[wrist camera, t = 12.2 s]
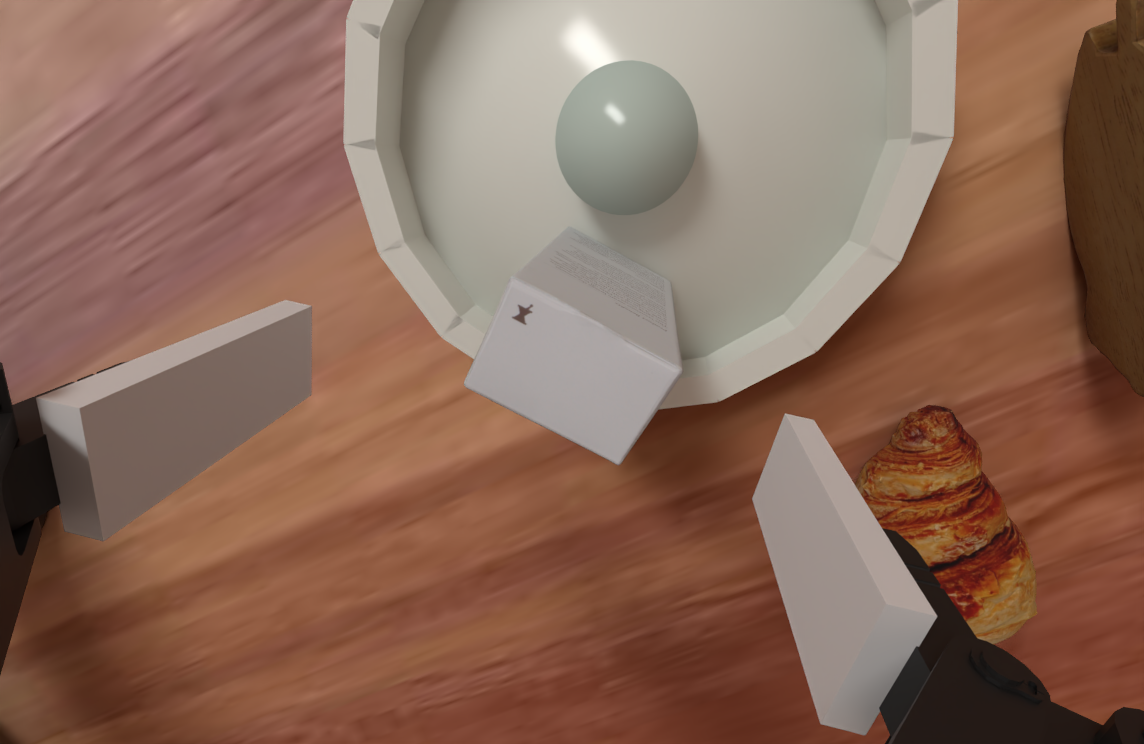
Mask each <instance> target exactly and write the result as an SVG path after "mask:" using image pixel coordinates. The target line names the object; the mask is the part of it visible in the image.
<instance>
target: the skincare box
mask: <svg viewBox="0 0 1144 744" xmlns="http://www.w3.org/2000/svg"><path fill="white" fill-rule="evenodd" d="M683 371H684V370H683V364H682V359H681V353H680V345H679V338H678V330H677V322H676V315H675V307H674V299H673V291H672V284H671V282H670V281H669V280H667V279H665V278H663V277H662V276H660V275H658V274H656V273H654V272H653V271H651V270H649V269H647V268H645V267H643V266H642V265H640V264H638V263H636V262H634V261H632V260H631V259H629V258H627V257H625V256H623V255H622V254H620V253H618V252H616V251H614V250H612V249H611V248H609V247H607V246H605V245H603V244H601V243H600V242H598V241H596V240H594V239H592V238H590V237H589V236H587V235H585V234H583V233H581V232H579V231H577V230H576V229H574V228H572V227H570V226H569V227H567V228H566V229H565V230H564V231H563V232H561V233H560V234H559V235H558V236H557V237H556V238H555V239H554V240H552V241H551V242H550V243H549V244H548V245H547V246H546V247H544V248H543V249H542V250H541V251H540V252H539V253H538V254H537V255H536V256H534V257H533V258H532V259H531V260H530V261H529V262H528V263H526V265H525V266H524V267H522V268H521V269H520V270H519V271H517V272H516V273H515V274H514V275H512V276H511V277H510V278H509V281H508V283H507V285H506V288H505V290H504V293H503V295H502V297H501V300H500V302H499V304H498V307H497V309H496V311H495V313H494V316H493V318H492V320H491V323H490V325H489V327H488V329H487V332H486V334H485V336H484V338H483V341H482V343H481V345H480V348H479V350H478V352H477V354H476V356H475V359H474V361H473V363H472V365H471V368H470V370H469V372H468V374H467V377H466V379H465V381H464V385H465V387H466V388H468V389H470V390H472V391H474V392H476V393H478V394H480V395H482V396H484V397H486V398H488V399H489V400H491V401H493V402H495V403H497V404H499V405H501V406H503V407H505V408H507V409H509V410H511V411H513V412H515V413H517V414H519V415H521V416H523V417H525V418H527V419H529V420H531V421H533V422H535V423H537V424H539V425H541V426H543V427H545V428H547V429H549V430H551V431H553V432H555V433H557V434H559V435H561V436H563V437H565V438H566V439H568V440H570V441H572V442H574V443H576V444H578V445H580V446H582V447H584V448H586V449H588V450H590V451H592V452H594V453H596V454H598V455H600V456H602V457H603V458H605V459H607V460H609V461H611V462H613V463H614V464H616V465H620V464H621V463H622V462H623V460H624V459H625V457H626V456H627V454H628V453H629V451H630V450H631V448H632V447H633V446H634V444H635V443H636V441H637V440H638V438H639V437H640V435H641V434H642V432H643V431H644V430H645V428H646V427H647V425H648V424H649V422H650V421H651V419H652V418H653V416H654V415H655V413H656V412H657V411H658V409H659V408H660V406H661V405H662V403H663V402H664V400H665V399H666V397H667V396H668V394H669V393H670V391H671V390H672V388H673V387H674V385H675V384H676V383H677V381H678V380H679V378H680V377H681V375H682V374H683Z"/></svg>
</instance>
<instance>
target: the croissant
mask: <svg viewBox="0 0 1144 744" xmlns="http://www.w3.org/2000/svg"><path fill="white" fill-rule="evenodd" d="M981 470H982V453H981V450H980V447H979V445H978V443H977V442H976V441H975V440H974V439H973V438H972V437H971V436H970V435H969V434H968V433H967V432H966V431H965V430H964V429H963V427H962V425H961V424H960V423H959V422H958V420H957V419H956V418H955V416H954V414H953V412H952V410H951V409H948V408H945V407H940V406H935V405H934V406H931V405H928V406H926V407H924V408H921V409H918V411H917V412H910V413H909V415H908V416H907V417H905V418H902V419H901V422H900V424H899V426H898V429H897V432H896V433H895V434H893V436H892V439H891V442H890V444H889V445H888V446H886V447H885V448H883V449H882V450H880V451H879V452H877V454H876V455H874V456H873V457H872V458H871V459H870V460H869V461H867V462H866V464H865V466H864V467H863V469H862V471H861V472H860V474H859V478H858V479H857V482H856V485H855V486H856V488H857V489H858V491H859V493H860V494H861V496H862V497H863V499H864V500H865V502H866V504H867V505H868V507H869V508H870V510H871V512H872V513H873V515H874V516H875V518H876V520H877V521H878V523H879V524H880V526H881V528H884V529H889V530H893V531H896V532H897V533H899V534H900V535H901V536H902V537H903V538H904V539H905V540H906V541H908V542H909V543H910V544H911V545H912V546H913V547H914V548H915V549H917V551H918V552H919V554H920V555H921V556H922V558H923V559H924V561H925V562H926V564H927V565H928V567H929V568H930V572H932V573H933V574H934V575H935V577H936V578H937V580H938V581H939V583H940V584H941V586H940V588H942V589H944V590H945V592H946V593H947V594H948V596H949V597H950V599H951V600H952V602H953V603H954V605H955V606H956V608H957V609H958V611H959V612H960V614H961V615H962V616H963V618H964V619H965V621H966V622H967V624H968V625H969V627H970V628H971V630H972V631H973V633H974V634H975V635H976V637H977V638H978V639H981V640H984V641H987V642H989V643H991V644H993V645H994V644H996V643H998V642H1001V641H1003V640H1005V639H1007V638H1010V637H1011V636H1012V635H1014V634H1015V633H1016V632H1017V631H1018V630H1019V629H1020V628H1021V627H1022V626H1023V625H1024V623H1025V622H1026V621H1027V620H1028V619H1030V618H1032V617H1033V616H1035V615H1036V614H1037V611H1036V608H1037V606H1036V603H1035V599H1036V575H1035V574H1036V571H1035V568H1034V565H1033V561H1032V557H1031V554H1030V551H1029V547H1028V544H1027V542H1026V540H1025V539H1024V537H1023V535H1022V534H1021V532H1020V531H1019V529H1018V527H1017V526H1016V525H1015V524H1014V523H1013V521H1012V520H1011V519H1010V518H1009V517H1008V515H1007V511H1006V507H1005V505H1004V503H1003V501H1002V499H1001V497H1000V495H999V493H998V492H997V491H996V489H995V488H994V486H993V485H992V484H991V482H990V481H989V480H988V478H987V477H986V476H985V475H984V473H983V472H982V471H981Z"/></svg>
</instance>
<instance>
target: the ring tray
mask: <svg viewBox="0 0 1144 744" xmlns="http://www.w3.org/2000/svg"><path fill="white" fill-rule="evenodd" d="M957 15H958V0H353V2H352V5H351V7H350V10H349V13H348V15H347V18H348V19H350V20H348V19H346V55H345V100H344V144H346V145H344V148H345V151H346V154H347V157H348V161H349V164H350V167H351V170H352V173H353V176H354V179H355V182H356V185H357V189H358V192H359V195H360V198H361V201H362V204H363V207H364V210H365V214H366V217H367V220H368V223H369V226H370V229H371V232H372V235H373V239H374V242H375V245H376V248H377V251H378V253H380V254H379V255H380V257H381V258H382V259H383V261H384V262H385V263H386V265H387V266H388V267H389V269H390V270H391V271H392V273H393V274H394V275H395V277H396V278H397V279H398V281H399V282H400V283H401V285H402V286H403V287H404V289H405V290H406V291H407V293H408V294H409V295H410V297H411V298H412V299H413V301H414V302H415V303H416V305H417V306H418V307H419V309H420V310H421V311H422V313H423V314H424V315H425V317H426V318H427V319H428V321H429V322H430V323H431V325H432V326H433V327H434V329H435V330H436V331H437V333H438V334H439V335H440V337H441V336H443V337H442V338H443V339H444V340H446V341H447V342H449V343H450V344H452V345H453V346H455V347H456V348H458V349H459V350H461V351H462V352H464V353H465V354H467V355H468V356H470V357H471V358H473V359H475V356H476V354H477V352H478V350H479V348H480V345H481V343H482V341H483V338H484V336H485V334H486V332H487V329H488V327H489V325H490V323H491V320H492V318H493V316H494V313H495V311H496V309H497V307H498V304H499V302H500V300H501V297H502V295H503V293H504V290H505V288H506V285H507V283H508V281H509V278H510V277H511V276H512V275H514V274H515V273H516V272H517V271H519V270H520V269H521V268H522V267H524V266H525V265H526V263H528V262H529V261H530V260H531V259H532V258H533V257H534V256H536V255H537V254H538V253H539V252H540V251H541V250H542V249H543V248H544V247H546V246H547V245H548V244H549V243H550V242H551V241H552V240H554V239H555V238H556V237H557V236H558V235H559V234H560V233H561V232H563V231H564V230H565V229H566V228H567V227H569V226H570V227H572V228H574V229H576V230H577V231H579V232H581V233H583V234H585V235H587V236H589V237H590V238H592V239H594V240H596V241H598V242H600V243H601V244H603V245H605V246H607V247H609V248H611V249H612V250H614V251H616V252H618V253H620V254H622V255H623V256H625V257H627V258H629V259H631V260H632V261H634V262H636V263H638V264H640V265H642V266H643V267H645V268H647V269H649V270H651V271H653V272H654V273H656V274H658V275H660V276H662V277H663V278H665V279H667V280H669V281H670V282H671V284H672V291H673V299H674V307H675V315H676V322H677V330H678V338H679V345H680V353H681V359H682V364H683V370H684V371H683V374H682V375H681V377H680V378H679V380H678V381H677V383H676V384H675V385H674V387H673V388H672V390H671V391H670V393H669V394H668V396H667V397H666V399H665V400H664V402H663V403H662V405H661V406H660V408H659V409H666V408H674V407H682V406H691V405H699V404H707V403H715V402H718V400H719V402H720V401H722V400H724V399H726V398H728V397H730V396H732V395H733V394H735V393H737V392H739V391H741V390H743V389H745V388H747V387H749V386H751V385H753V384H755V383H757V382H759V381H761V380H763V379H765V378H767V377H769V376H771V375H773V374H775V373H777V372H779V371H781V370H782V369H784V368H786V367H788V366H790V365H792V364H794V363H796V362H798V361H800V360H802V359H804V358H806V357H808V356H810V355H812V354H814V353H816V352H815V350H816V351H818V350H819V349H820V348H821V347H822V346H823V345H824V344H825V343H826V342H827V340H828V339H829V338H830V337H831V336H832V335H833V334H834V333H835V332H836V331H837V330H838V329H839V328H840V327H841V326H842V324H843V323H844V322H845V321H846V320H847V319H848V318H849V317H850V316H851V315H852V314H853V313H854V312H855V311H856V310H857V309H858V307H859V306H860V305H861V304H862V303H863V302H864V301H865V300H866V299H867V298H868V297H869V296H870V295H871V294H872V293H873V291H874V290H875V289H876V288H877V287H878V286H879V285H880V284H881V283H882V282H883V281H884V280H885V279H886V278H887V277H888V275H889V274H890V273H891V272H892V271H893V270H894V269H895V268H896V267H897V266H898V265H899V263H898V262H901V260H902V258H903V255H904V253H905V251H906V248H907V246H908V244H909V241H910V239H911V237H912V234H913V232H914V229H915V227H916V225H917V222H918V220H919V218H920V215H921V213H922V211H923V208H924V206H925V204H926V201H927V199H928V197H929V194H930V192H931V190H932V187H933V185H934V183H935V180H936V178H937V176H938V173H939V171H940V169H941V166H942V164H943V162H944V159H945V157H946V154H947V152H948V150H949V147H950V145H951V143H952V140H953V138H949V137H954V112H955V79H956V47H957ZM897 261H898V262H897Z"/></svg>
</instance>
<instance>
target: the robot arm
mask: <svg viewBox="0 0 1144 744" xmlns="http://www.w3.org/2000/svg"><path fill="white" fill-rule="evenodd" d="M311 373H312V306H309V305H305V304H301V303H296V302H292V301H287V300H284V301H282V302H279V303H277V304H274V305H272V306H269V307H266V308H264V309H261V310H259V311H256V312H254V313H251V314H249V315H246V316H243V317H241V318H238V319H236V320H233V321H231V322H228V323H226V324H223V325H221V326H218V327H215V328H213V329H210V330H208V331H205V332H203V333H200V334H198V335H195V336H192V337H190V338H187V339H185V340H182V341H180V342H177V343H175V344H172V345H170V346H167V347H164V348H162V349H159V350H157V351H154V352H152V353H149V354H147V355H144V356H141V357H139V358H136V359H134V360H131V361H128V362H123V363H119V364H117V365H114V366H112V367H109V368H107V369H104V370H101V371H99V372H97V374H96V375H94V374H91V375H89V376H86V377H83V378H81V379H78V380H77V382H71V383H68V384H65V385H63V386H60V387H58V388H55V389H53V390H50V391H47V392H45V393H42V394H40V395H37V396H35V397H32V398H29V399H27V400H24V401H22V402H19V403H17V404H14V405H12V403H11V399H10V395H9V390H8V386H7V382H6V378H5V373H4V369H3V365H2V363H1V362H0V674H1V671H2V667H3V664H4V660H5V657H6V654H7V650H8V647H9V643H10V640H11V636H12V633H13V630H14V626H15V623H16V619H17V616H18V613H19V609H20V606H21V602H22V599H23V595H24V592H25V589H26V585H27V582H28V578H29V575H30V572H31V568H32V565H33V561H34V558H35V554H36V551H37V548H38V544H39V541H40V537H41V528H42V527H43V524H44V522H45V518H46V513H47V511H49V510H50V509H52V508H54V507H55V506H57V505H59V508H60V512H61V517H62V522H63V526H64V531H65V532H69V533H73V534H77V535H81V536H85V537H89V538H92V539H96V540H100V541H105V540H106V539H107V538H109V537H110V536H112V535H113V534H115V533H116V532H117V531H119V530H120V529H122V528H123V527H125V526H126V525H127V524H129V523H130V522H132V521H133V520H134V519H136V518H137V517H139V516H140V515H142V514H143V513H144V512H146V511H147V510H149V509H150V508H152V507H153V506H154V505H156V504H157V503H159V502H160V501H161V500H163V499H164V498H166V497H167V496H169V495H170V494H171V493H173V492H174V491H176V490H177V489H179V488H180V487H181V486H183V485H184V484H186V483H187V482H188V481H190V480H191V479H193V478H194V477H196V476H197V475H198V474H200V473H201V472H203V471H204V470H206V469H207V468H208V467H210V466H211V465H213V464H214V463H215V462H217V461H218V460H220V459H221V458H223V457H224V456H225V455H227V454H228V453H230V452H231V451H233V450H234V449H235V448H237V447H238V446H240V445H241V444H242V443H244V442H245V441H247V440H248V439H250V438H251V437H252V436H254V435H255V434H257V433H258V432H260V431H261V430H262V429H264V428H265V427H267V426H268V425H269V424H271V423H272V422H274V421H275V420H277V419H278V418H279V417H281V416H282V415H284V414H285V413H287V412H288V411H289V410H291V409H292V408H294V407H295V406H296V405H298V404H299V403H301V402H302V401H304V400H305V399H306V398H308V397H309V396H311ZM752 500H753V503H754V507H755V510H756V513H757V516H758V520H759V523H760V526H761V530H762V533H763V536H764V539H765V543H766V546H767V549H768V553H769V556H770V559H771V563H772V566H773V569H774V572H775V576H776V579H777V582H778V586H779V589H780V592H781V596H782V599H783V602H784V605H785V609H786V612H787V615H788V619H789V622H790V625H791V629H792V632H793V635H794V638H795V642H796V645H797V648H798V652H799V655H800V658H801V662H802V665H803V668H804V671H805V675H806V678H807V681H808V685H809V688H810V691H811V695H812V698H813V701H814V704H815V708H816V711H817V714H818V718H819V721H820V724H822V725H826V726H830V727H834V728H838V729H842V730H846V731H850V732H854V733H858V734H862V735H866V734H867V732H868V730H869V729H870V727H871V725H872V724H873V722H874V720H875V719H876V717H877V715H878V714H879V712H880V711H881V714H882V716H883V719H884V721H885V723H886V726H887V728H888V730H889V733H890V736H889V738H888V740H887V741H886V743H885V744H1144V711H1142V710H1140V709H1133V708H1126V707H1123V708H1121V709H1119V710H1117V711H1115V712H1114V713H1113V714H1112V716H1111V717H1110V718H1109V719H1108V720H1107V722H1106V723H1105V724H1104V725H1101V724H1099V723H1096V722H1094V721H1092V720H1090V719H1088V718H1086V717H1084V716H1081V715H1079V714H1077V713H1075V712H1073V711H1071V710H1068V709H1066V708H1064V707H1062V706H1060V705H1058V704H1056V703H1053V702H1051V700H1050V695H1049V693H1048V692H1047V690H1046V689H1045V687H1044V685H1043V684H1042V682H1041V681H1040V680H1039V679H1038V678H1037V677H1036V676H1035V675H1034V674H1033V673H1032V672H1031V671H1030V670H1029V669H1028V668H1027V667H1026V666H1025V665H1024V664H1023V663H1022V662H1020V661H1019V660H1017V659H1016V658H1015V657H1013V656H1012V655H1011V654H1009V653H1008V652H1006V651H1005V650H1003V649H1001V648H999V647H997V646H995V645H993V644H991V643H989V642H987V641H984V640H981V639H978V638H977V637H976V635H975V634H974V633H973V631H972V630H971V628H970V627H969V625H968V624H967V622H966V621H965V619H964V618H963V616H962V615H961V614H960V612H959V611H958V609H957V608H956V606H955V605H954V603H953V602H952V600H951V599H950V597H949V596H948V594H947V593H946V592H945V590H944V589H942V588H940V586H941V584H940V583H939V581H938V580H937V578H936V577H935V575H934V574H933V573H932V572H930V568H929V567H928V565H927V564H926V562H925V561H924V559H923V558H922V556H921V555H920V554H919V552H918V551H917V549H915V548H914V547H913V546H912V545H911V544H910V543H909V542H908V541H906V540H905V539H904V538H903V537H902V536H901V535H900V534H899V533H897V532H896V531H893V530H889V529H884V528H881V526H880V524H879V523H878V521H877V520H876V518H875V516H874V515H873V513H872V512H871V510H870V508H869V507H868V505H867V504H866V502H865V500H864V499H863V497H862V496H861V494H860V493H859V491H858V489H857V488H856V486H855V485H854V483H853V481H852V480H851V478H850V477H849V475H848V473H847V472H846V470H845V469H844V467H843V466H842V464H841V462H840V461H839V459H838V458H837V456H836V454H835V453H834V451H833V450H832V448H831V446H830V445H829V443H828V442H827V440H826V439H825V437H824V435H823V434H822V432H821V431H820V429H819V427H818V426H817V424H816V423H815V421H814V420H812V419H807V418H803V417H798V416H794V415H790V414H785V415H784V417H783V420H782V422H781V425H780V428H779V430H778V433H777V435H776V438H775V441H774V443H773V446H772V448H771V451H770V454H769V456H768V459H767V461H766V464H765V467H764V469H763V472H762V474H761V477H760V480H759V482H758V485H757V488H756V490H755V493H754V495H753V498H752Z"/></svg>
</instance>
